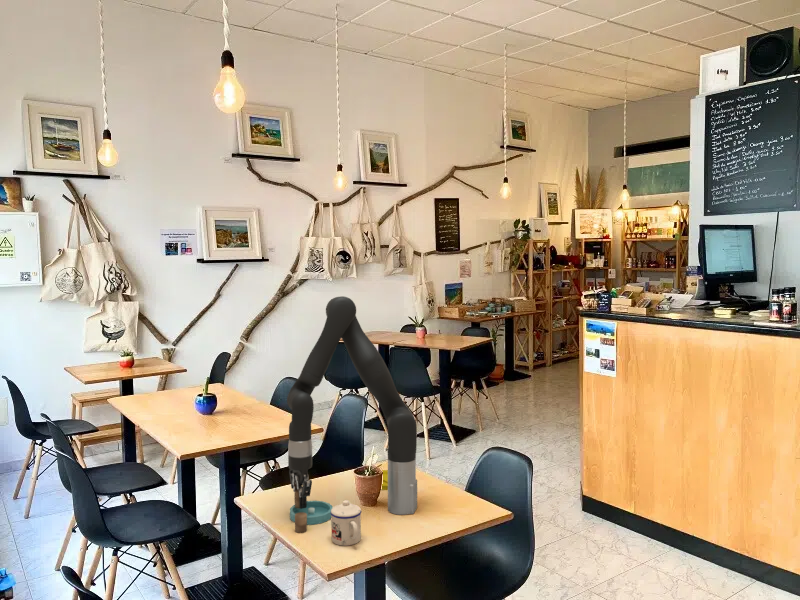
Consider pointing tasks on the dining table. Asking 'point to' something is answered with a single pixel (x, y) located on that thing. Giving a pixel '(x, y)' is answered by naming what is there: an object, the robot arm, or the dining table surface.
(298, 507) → the walnut bead
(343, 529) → the teacup with lid
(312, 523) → the groove tray
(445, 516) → the dining table surface
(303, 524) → the walnut bead
